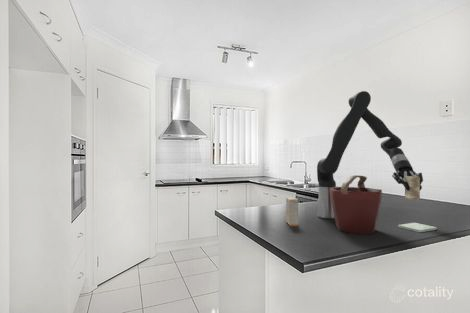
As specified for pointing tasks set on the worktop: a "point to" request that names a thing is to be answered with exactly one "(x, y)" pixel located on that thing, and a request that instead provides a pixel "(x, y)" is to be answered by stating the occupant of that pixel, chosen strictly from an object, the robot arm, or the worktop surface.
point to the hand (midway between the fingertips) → (414, 189)
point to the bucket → (356, 206)
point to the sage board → (417, 227)
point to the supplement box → (292, 211)
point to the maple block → (413, 187)
